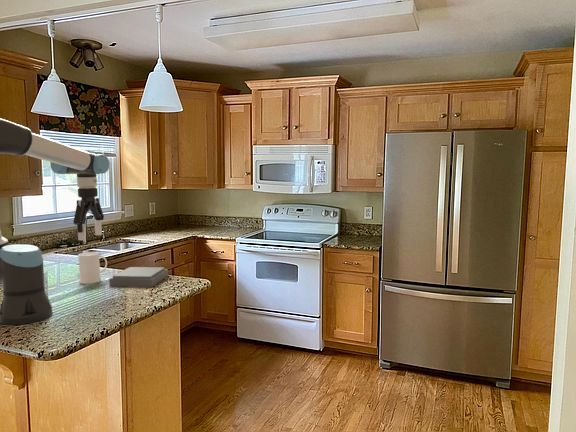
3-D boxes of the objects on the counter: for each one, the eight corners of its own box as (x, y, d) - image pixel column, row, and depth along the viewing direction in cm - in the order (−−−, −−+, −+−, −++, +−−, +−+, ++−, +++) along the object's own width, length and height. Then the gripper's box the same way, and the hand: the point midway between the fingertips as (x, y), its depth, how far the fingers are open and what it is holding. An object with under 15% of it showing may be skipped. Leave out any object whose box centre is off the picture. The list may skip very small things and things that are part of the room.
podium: (152, 286, 181) (151, 277, 180) (109, 286, 183) (109, 276, 182) (168, 275, 199) (167, 266, 198) (129, 275, 200) (128, 266, 200)
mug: (105, 276, 199) (103, 250, 197) (111, 280, 192) (110, 252, 191) (76, 281, 191) (75, 253, 190) (82, 285, 185) (80, 256, 183)
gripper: (79, 189, 174) (83, 242, 177) (110, 186, 199) (112, 233, 202) (61, 189, 175) (65, 242, 177) (94, 186, 200) (96, 233, 202)
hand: (90, 237), depth 190 cm, fingers open, 13 cm apart
